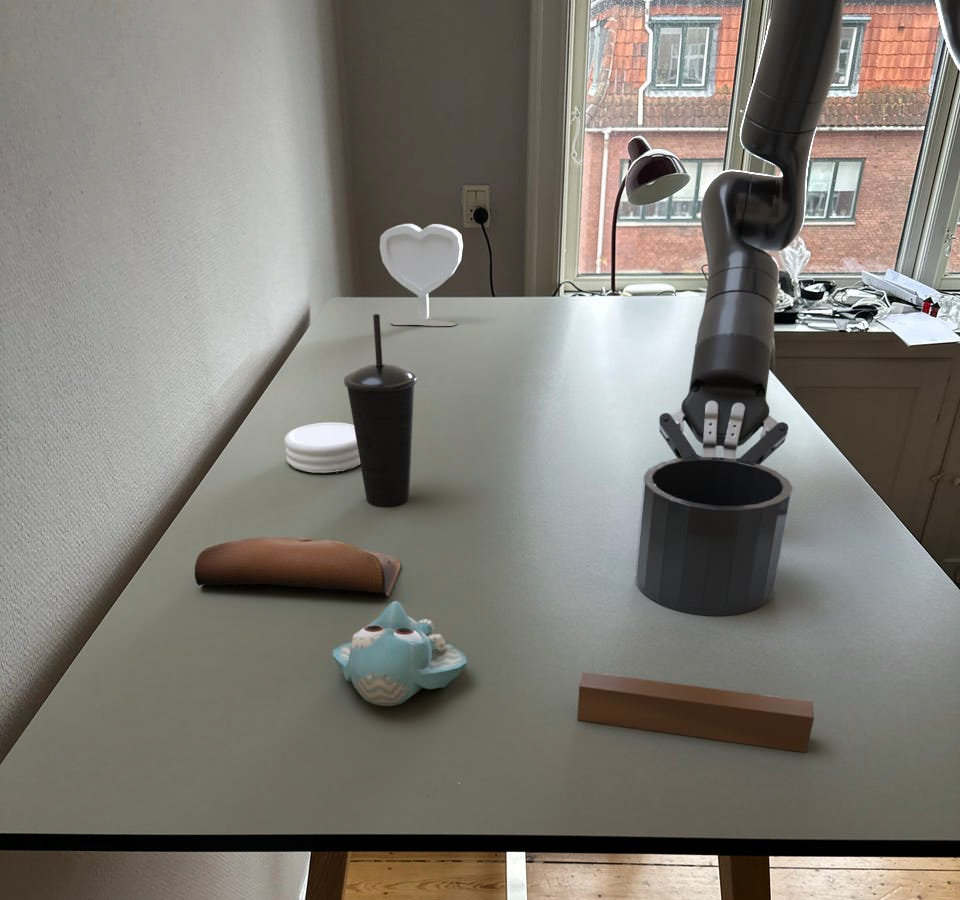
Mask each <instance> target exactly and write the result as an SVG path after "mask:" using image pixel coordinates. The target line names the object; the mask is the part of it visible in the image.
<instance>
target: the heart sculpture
mask: <svg viewBox="0 0 960 900" xmlns="http://www.w3.org/2000/svg"><path fill="white" fill-rule="evenodd" d="M463 248H464V243H463V237H462V234H461V233H460V232H459V231H458V230H457V229H456V228H453V227H451V226H449V225H444V224H440V223H432V224H430V225H427V226H425V227H424V228H423V229H422V228H421V227H420V226H418V225H416V224H414V223H402V224H399V225H396V226H393V227H391V228H388V229H387V230H384V232H383V233H382V234H381V235H380V237H379V251H380V256H381V262H382V264H383V265H384V267H385V268H386V270H387V271H388V274H389V275H390V276H391V277H392V278H393V279H394V280H395V281H397V283H399V284H400V285H402V287H404V288H406V289H407V290H409V291H410V292H412V293H413V294H415V295H416V296H417V302H418V303H417V304H418V319H419V318H424V319H428V317H429V318H430V306H429V305H430V304H429V294H430V293H431V292H432V291H434V290H436V289H438V288H439V287H440V286H441V285H443V284H445V282H446V281H447V280H448V279H449V278H451V277H452V276H453V275H454V273H455V272H456V270H457V268H458V266H459V265H460V263H461V261H462V255H463Z"/></svg>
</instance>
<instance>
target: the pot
mask: <svg viewBox="0 0 960 900" xmlns="http://www.w3.org/2000/svg"><path fill="white" fill-rule="evenodd" d="M721 457H722V456H721ZM721 457H720V456H719V457H718V456H715V457H689V458H678V459H677V458H673V459H669V460H666V461H661V462H659V463H657V464H655V465H653V466H651V467H649V468H648V469H647V471H646V472H645V474H644V475H643V476H642V477H643V479H642V491H641V499H640V500H641V501H640V512H639V523H638V535H637V545H636V546H637V547H636V556H635V567H634V570H635V575H634V576H635V577H634V578H635V583H636V584H635V585H636V586H637V588H638V589H639V591H640V592H641V593H642V594H643V595H644V596H646V597H647V598H648V599H650V600H651V601H653V602H655V603H657V604H659V605H661V606H664V607H666V608H668V609H671V610H674V611H678V612H682V613H687V614H692V615H699V616H713V617H721V616H722V617H723V616H726V617H727V616H735V615H741V614H746V613H750V612H753V611H756V610H758V609H761V608H762V607H764V606H765V605H766V604H768V603H769V601H771V600H772V598H773V596H774V593H775V587H776V584H777V579H778V573H779V567H780V562H781V556H782V550H783V543H784V539H785V534H786V528H787V522H788V516H789V512H790V505H791V500H792V494H793V488H794V487H793V485H792V484H791V482H790V480H789V478H787V477H786V476H784V475H783V474H781V473H780V472H779V471H777V470H774V469H773V468H770V467H767V466H765V465H762V464H760V465H759V464H755V463H751V462H747V461H742V460H737V459H738V458H735V459H729V458H721Z"/></svg>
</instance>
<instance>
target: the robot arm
mask: <svg viewBox="0 0 960 900" xmlns="http://www.w3.org/2000/svg"><path fill="white" fill-rule="evenodd" d="M844 1H845V0H773V3H772V7H771V8H772V9H771V12H770V17H769V21H768V25H767V30H766V33H765V39H764V43H763V45H762V50H761V54H760V58H759V62H758V65H757V68H756V72H755V75H754V79H753V83H752V86H751V90H750V93H749V97H748V101H747V105H746V108H745V112H744V115H743V119H742V123H741V126H740V132H739V133H740V134H739V139H740V143H741V145H742V147H743V149H744V150H745V151H747V152H748V153H749V154H751V155H753V156H755V157H756V158H758V159H761V160H763V161H766V162H767V163H770V164H772V165H773V166H775V167H776V168H778V170H779V171H780V175H779V176H778V175H770V174H763V173H756V172H749V171H743V170H736V169H729V170H724V171H722V172H720V173H719V174H717V175H716V176H715V177H714V178H712V180H710V182H709V183H708V185H707V187H705V188H706V189H705V190H704V193H703V196H702V200H701V206H700V224H701V231H702V237H703V242H704V247H705V252H706V253H705V254H706V259H707V271H708V273H707V285H706V291H705V299H704V305H703V309H702V315H701V318H700V321H699V325H698V329H697V335H696V341H695V345H694V354H693V360H692V361H693V362H692V367H691V375H690V381H689V388H688V393H687V395H686V397H685V398H684V399H683V401H682V402H681V408H679V409H677V410H676V411H674V412H672V413H671V414H670V413H668V412H664V413H662V414H660V415H659V417H658V418H659V420H658V421H659V423H658V424H659V425H658V427H659V429H658V430H659V433H660V434H661V436H662V438H663V439H664V441H665V442H666V444H667V445H668V447H669V448H670V450H671V451H672V453H673V454H674V456H675V458H676V459H678V458H689V457H716V447H722V448H723V449H722V453H721V458H729V459H737V460H742V461H747V462H751V463H755V464H759V465H762V463H764V462H765V460H766V459H768V458H769V457H770V456H771V455H772V454H773V453H774V452H775V451H776V450H777V449H778V448H780V447H781V446H782V445H783V444H784V443H785V442H786V438H787V436H788V431H789V425H788V424H787V423H786V422H784V421H780V422H778V421H777V420H775V419H774V418H773V417H772V416H771V415H770V406H769V404H768V402H767V393H768V392H767V391H768V383H769V378H770V377H769V375H770V368H771V360H772V355H773V344H774V337H775V311H776V310H775V309H776V303H777V295H778V286H779V280H780V279H779V278H780V277H779V276H780V270H779V265H778V263H777V261H776V259H775V258H774V257H773V256H772V255H771V254H770V253H768V252H780V251H783V250H785V249H786V248H788V247H789V246H790V245H791V244H793V242H794V241H795V240H796V239H797V238H798V236H799V235H800V233H801V230H802V228H803V226H804V221H805V214H806V201H807V200H806V199H807V177H808V170H809V169H808V168H809V161H810V157H811V156H810V155H811V150H812V146H813V142H814V137H815V134H816V131H817V128H818V125H819V122H820V119H821V116H822V113H823V110H824V109H825V108H824V107H825V105H826V102H827V99H828V95H829V94H830V89H831V86H832V83H833V80H834V77H835V73H836V69H837V65H838V59H839V55H840V50H841V49H840V48H841V41H842V40H841V39H842V29H843V15H844V14H843V12H844ZM935 5H936V8H937V13H938V17H939V22H940V26H941V29H942V34H943V36H944V40H945V42H946V46H947V48H948V51H949V53H950V55H951V57H952V59H953V61H954V63H955V65H956V66H957V68H958V70H959V71H960V0H935ZM684 421H685V423H686V424H687V426H688V428H689V429H690V431H691V433H692V434H693V436H694V437H695V439H696V440H697V441H698V442H699V443H700V444H702V449H701V455H700V454H697V452H696V451H695V449H694V447H693V446H692V444H691V443H690V441H689V440H688V438H687V437H686V436H685V434H684V431H685V424H684ZM761 428H762V429H761ZM760 429H761V431H760V436H759V440H758V441H757V442H756V443H755V444H753V445H752V446H751V447H750V448H749V449H748V450H747V451H746V452H744V453H743V454H742V455H741V456H740V457H738V458H736V454H737V450H738V447H741V446H743V445H744V444H745V443H747V442H748V441H749V440H750V439H751V438H752V437H753V436H754V435H755V434H756V433H757V432H758V431H759V430H760Z"/></svg>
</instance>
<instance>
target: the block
mask: <svg viewBox="0 0 960 900" xmlns="http://www.w3.org/2000/svg"><path fill="white" fill-rule="evenodd" d="M577 701H578V702H577V717H576V720H577V721H580V722H587V723H593V724H603V725H609V726H616V727H621V728H623V727H624V728H629V729H637V730H645V731H650V732H658V733H666V734H671V735H672V734H673V735H679V736H687V737H693V738H701V739H706V740H715V741H721V742H727V743H735V744H742V745H749V746H756V747H764V748H771V749H778V750H785V751H791V752H798V753H806V754H807V753H808V748H809V743H810V738H811V733H812V728H813V724H814V720H815V713H814V703H813V701H811V700H805V699H797V698H788V697H780V696H773V695H765V694H757V693H749V692H743V691H735V690H726V689H719V688H712V687H705V686H704V687H703V686H696V685H689V684H682V683H674V682H673V683H672V682H666V681H665V682H664V681H658V680H650V679H643V678H635V677H627V676H619V675H612V674H604V673H596V672H590V671H583V672H582V675H581V679H580V681H579V686H578V699H577Z"/></svg>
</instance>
